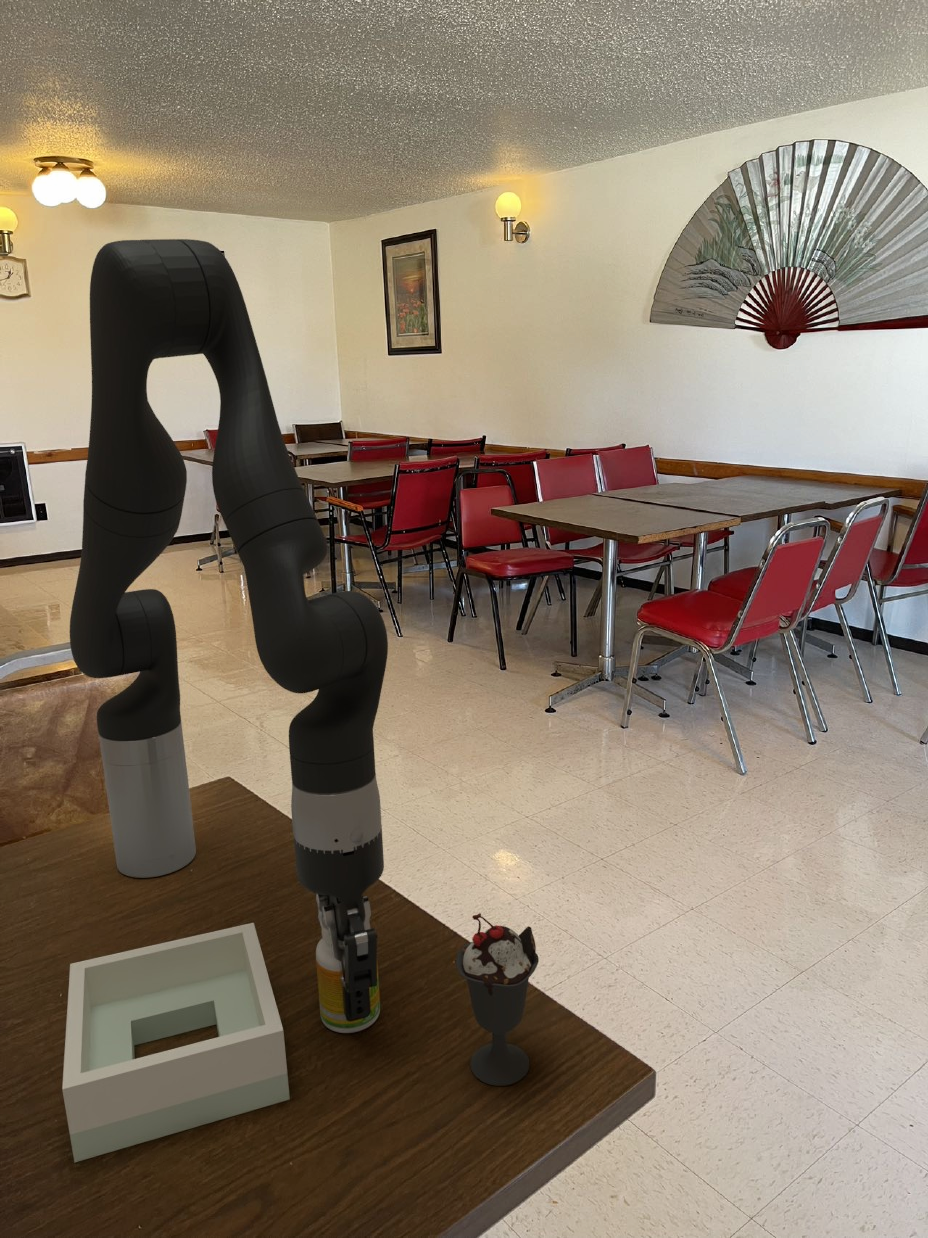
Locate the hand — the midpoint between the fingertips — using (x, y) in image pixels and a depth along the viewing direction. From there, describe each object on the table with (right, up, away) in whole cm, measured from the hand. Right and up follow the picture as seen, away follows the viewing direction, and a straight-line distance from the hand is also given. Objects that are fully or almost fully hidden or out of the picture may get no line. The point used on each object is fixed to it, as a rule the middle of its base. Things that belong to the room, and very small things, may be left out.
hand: (349, 995), depth 82 cm
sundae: (+13, -3, -6) cm, 15 cm away
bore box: (-14, -4, -5) cm, 15 cm away
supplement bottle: (0, -2, +1) cm, 2 cm away
